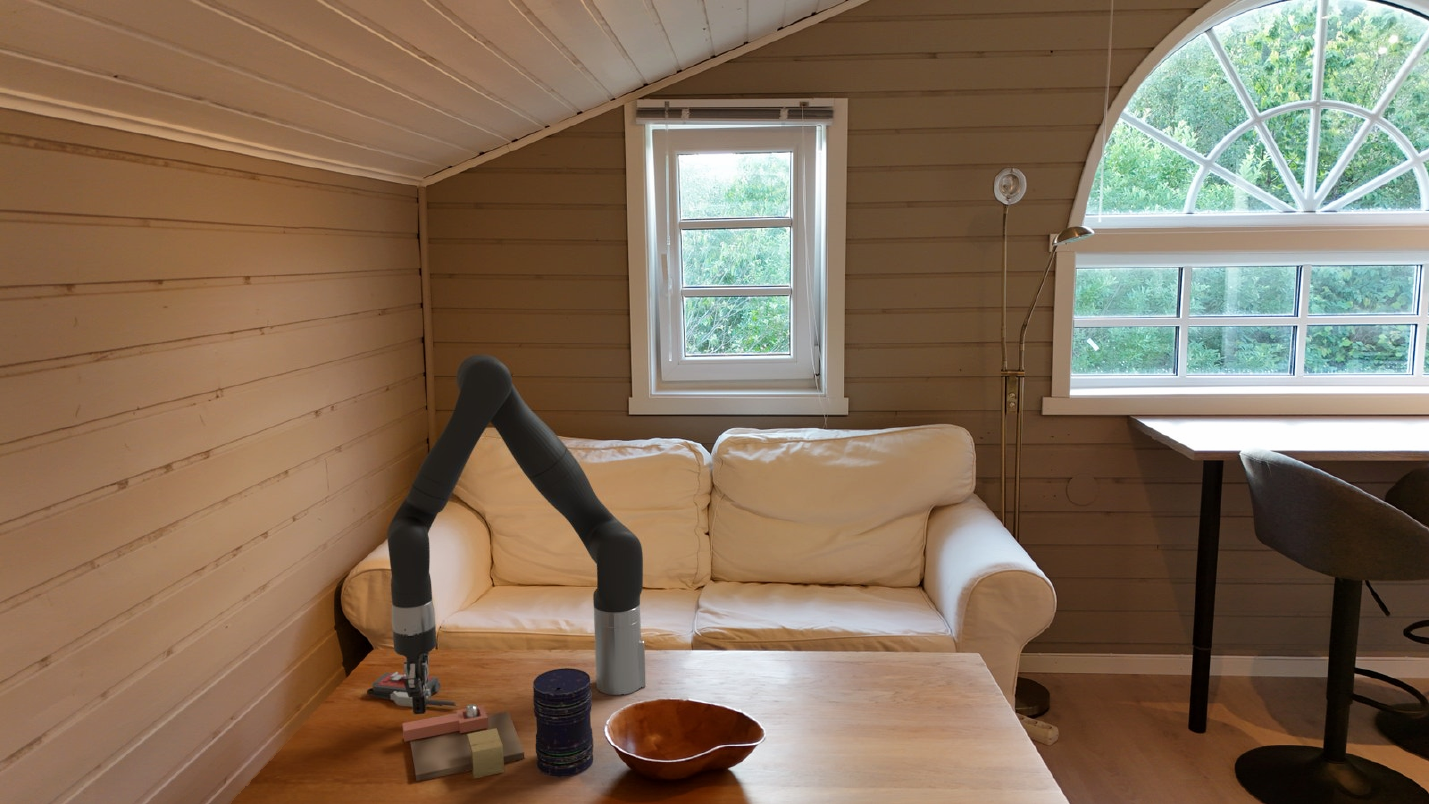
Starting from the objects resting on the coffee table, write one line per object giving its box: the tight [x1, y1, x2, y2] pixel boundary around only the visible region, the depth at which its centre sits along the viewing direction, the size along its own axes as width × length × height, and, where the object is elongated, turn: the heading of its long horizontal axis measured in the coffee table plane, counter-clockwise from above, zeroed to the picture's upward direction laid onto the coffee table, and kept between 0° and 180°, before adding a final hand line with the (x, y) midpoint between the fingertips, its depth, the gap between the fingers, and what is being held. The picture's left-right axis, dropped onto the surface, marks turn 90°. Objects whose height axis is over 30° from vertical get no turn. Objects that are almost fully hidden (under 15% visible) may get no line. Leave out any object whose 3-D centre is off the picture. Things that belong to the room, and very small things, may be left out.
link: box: [402, 704, 488, 743], centre depth 172 cm, size 14×5×2 cm, turn 112°
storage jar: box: [532, 667, 594, 778], centre depth 163 cm, size 10×10×15 cm
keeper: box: [467, 728, 505, 779], centre depth 163 cm, size 5×6×5 cm
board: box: [409, 710, 525, 782], centre depth 169 cm, size 18×16×1 cm
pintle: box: [465, 703, 477, 719], centre depth 174 cm, size 2×2×5 cm
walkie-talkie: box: [366, 671, 457, 708], centre depth 188 cm, size 9×4×20 cm
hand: (420, 712), depth 177 cm, fingers closed
